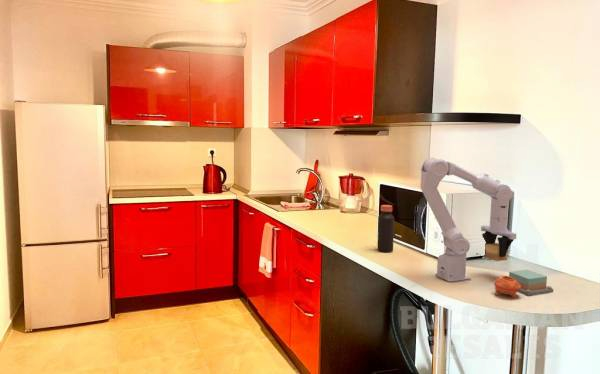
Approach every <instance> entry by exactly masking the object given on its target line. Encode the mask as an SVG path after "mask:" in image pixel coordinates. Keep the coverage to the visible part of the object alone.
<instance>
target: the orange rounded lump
mask: <svg viewBox="0 0 600 374" xmlns="http://www.w3.org/2000/svg"><path fill="white" fill-rule="evenodd" d="M493 285H494V289H495V295H499V293H503V294H505V295H510V296H511V298H512V299H513V298H516V294H517V293H519V292H518V291H519V290H520V289H521V285H520V284H519V283H518V282H517V281H516V280H515V278H513V277H509V275H502V276H500V277H498V278H496V279H495V280H494V282H493Z"/></svg>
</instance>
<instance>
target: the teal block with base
mask: <svg viewBox="0 0 600 374" xmlns="http://www.w3.org/2000/svg"><path fill="white" fill-rule="evenodd" d="M508 273H509V274H508V276H509V277H513V278H515V280H516V281H517V282H518V283H519V284H520V285H521V289H520V290H519V291H518V292H517V293H520V294H523V295H525V296H527V297H531V296H537V295H543V294H549V293H553V292H554V288H553V287H552V286H551V285H548V286H547V281H548V276H547V275H545V274H541V273H540V272H539V273H538V272H535V271H532V270H530V269H521V270H520V269H519V270H513V271H509V272H508Z"/></svg>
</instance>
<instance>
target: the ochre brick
mask: <svg viewBox="0 0 600 374" xmlns="http://www.w3.org/2000/svg"><path fill="white" fill-rule="evenodd" d="M508 251H509V249H508V250H507V253H506V256H505V257H500V256H499V242H495V243H492V244H487V245H486V258H489V259H488V260H491V261H495V262H502V261H507V260H508V254H509V253H508Z"/></svg>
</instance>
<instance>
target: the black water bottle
mask: <svg viewBox="0 0 600 374" xmlns="http://www.w3.org/2000/svg"><path fill="white" fill-rule="evenodd" d="M392 213H393V205H391V204H382V205H380V214H379V216H378V217H377V218H378V219H377V243H376V244H377V251H378V252H380V253H392V252H393V251H394V238H395V237H394V232H395V230H394V229H395V217H394V215H393V214H392Z"/></svg>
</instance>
